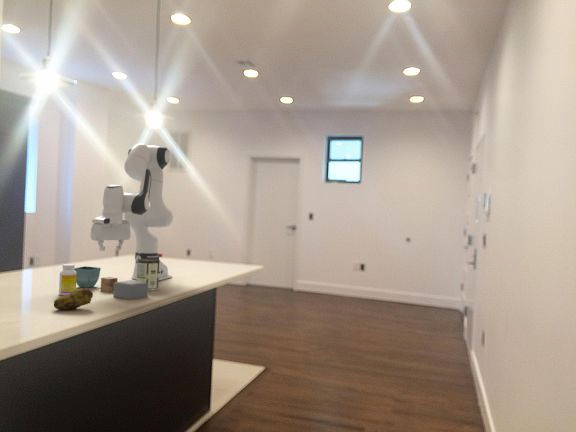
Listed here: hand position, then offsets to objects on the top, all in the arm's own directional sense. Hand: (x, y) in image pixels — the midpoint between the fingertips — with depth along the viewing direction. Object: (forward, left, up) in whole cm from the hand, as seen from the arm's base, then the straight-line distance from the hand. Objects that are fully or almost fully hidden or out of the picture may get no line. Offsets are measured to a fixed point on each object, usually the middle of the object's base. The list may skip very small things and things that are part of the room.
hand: (110, 250), depth 224 cm
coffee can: (-16, +8, -19) cm, 26 cm away
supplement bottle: (+18, -5, -19) cm, 27 cm away
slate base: (+3, +17, -19) cm, 26 cm away
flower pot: (0, -15, -19) cm, 24 cm away
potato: (+35, +21, -19) cm, 45 cm away
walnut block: (0, 0, -19) cm, 19 cm away
